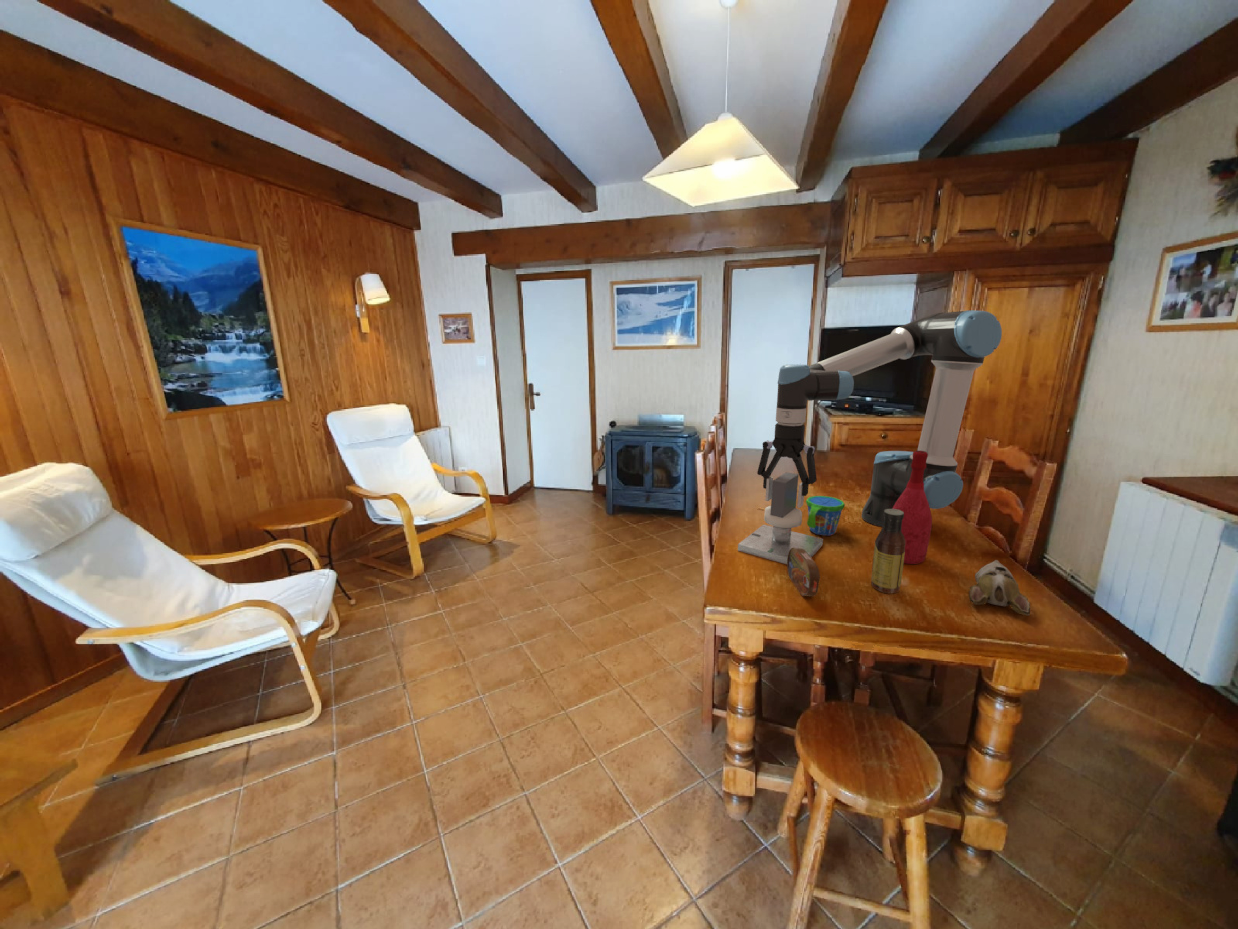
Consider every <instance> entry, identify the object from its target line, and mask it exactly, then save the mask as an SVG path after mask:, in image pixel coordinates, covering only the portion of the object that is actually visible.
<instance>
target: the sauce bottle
mask: <svg viewBox="0 0 1238 929" xmlns="http://www.w3.org/2000/svg"><path fill="white" fill-rule="evenodd" d="M883 516H884V522H883V527H881V530H880V531H879V533H878V534H877V537H876V538H875V539H874V549H873V558H872V567H871V577H870V580H871V582H870V583H871V586H872V587H873V588H874V590H877V591H879V592H880V593H885V594H896V593H898V592H899V591H900V586H901V585H902V577H903V572H904V571H903V570H904V564H905V563H904V555H905V543H906V542H905V538H904V535H903V534H902V532H901V530H902V520H903V518H904V512H903V511H901V510H897V509H885V510H884V514H883Z"/></svg>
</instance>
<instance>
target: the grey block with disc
mask: <svg viewBox="0 0 1238 929" xmlns="http://www.w3.org/2000/svg"><path fill="white" fill-rule="evenodd" d="M798 483H799V473H793V472H787V471H786V472H784V473H783V474H781V475H780V476H778V477H777V478H775V479H773V485H772V499H770V500H771V503H770V505H768V506H766V507H765V508H764V507H760V506H758V507H757V508H756V509H757V510H758V511H761V512H764V516H763V520H764V522H765V523H766V524H767V525H769V526H772V527H773V526H776V527H781V528H791V529H793V528H798V527H800V526H801V525H802V520H803V511H802V510H801V509H800V508H798V507H797V500H798V488H799V485H798Z"/></svg>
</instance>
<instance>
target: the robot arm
mask: <svg viewBox="0 0 1238 929" xmlns="http://www.w3.org/2000/svg"><path fill="white" fill-rule="evenodd" d="M997 318H998V317H997V316H995V315H994V314H993V313H991V312H989V311H986V310H974V309H972V310H961V311H958V310H957V311H949V312H937V313H932V314H929V315H925V316H924V317H920V318H918V319H916V320H914V321H911V322H908V323H906V324H903V325H901V326H899V327H896V328H894V329H892V331H891V333H890V334H887V335H885V336H882V337H879V338H877V339H875V340H872V341H869V342H867V343H864V344H861V345H859V346H857V347H854V348H851V349H849V350H847V351H844V352H841V353H839V354H836V355H833V356H831V357H828V358H826V359H824V360H820V361H819V362H815V363H813V364H811V365H808V364H801V363H800V364H793V363H792V364H783V365H781V367H780V368H779V371H778V372H779V373H778V379H777V395H776V396H777V399H776V408H775V409H776V411H775V412H776V414H775V422H776V423H775V425H774V426H775V427H774V439H773V440H771V441H770V440H765V441H763V442H762V453H761V458H760V460H759V464H758V469H757V472H756V473H757V475H758V476H761V477H762V478H763V485H762V486H763V489H765V501H766V502H769V501H770V500H772V485H773V480H774V477H773V476H772V474H773V472H774V470H775V468H776V467H777V465H778V463H779V461H780V460H781V458H788V459H792V462H794V465H795V468H796V469H797V474H799V475H798V477H799V478H800V481H801V482H800V483H799V485H798V490H797V502H796V508H797V509H800V508H801V507H803V506H804V501H805V497H806V496H807V495H808V494H809V487H810V486H809V485H813V484H815V483H816V482H817V470H816V461H815V453H816V446H814V445H812V446H810V445H807V444H805V440H804V439H805V429H806V426H805V423H806V417H807V416H806V415H807V406H808V402H809V401H837V400H845V399H848V398H849V397H850V396H851V395H852V393H853V391H854V387H855V386H854V384H855V380H854V376H857V375H860V374H862V373H864V372H868V371H870V370H872V369H875V368H878V367H879V366H884V365H885V364H888V363H891V362H893V361H896V360H898V359H900V360H907V359H911V358H913V357H918V356H932V357H931V360H930V362H931V363H932V364H933V366H934V367H935V372H934V375H933V381H932V384H931V389H930V393H929V394H930V395H929V398H928V403H927V407H926V412H925V415H924V420H923V424H922V428H921V434H920V438H919V442H918V446H917V450H916V451H925V452H927V454H928V457H927V461H926V469H924V474H923V483H924V492H925V495H926V498H927V501H928V503H929V507H930V509H933V510H939V509H943V508H946V507H948V506H950V504H952V503H955V501H956V500H957V499H958V498H959V497H960V495H961V494H962V491H963V488H964V481H963V479H962V477H961V476H960V475H959V473H957V468H958V462H957V461H956V459H955V458H954V454H955V449H956V446H957V442H958V441H957V440H958V436H959V433H960V432H959V431H960V429H961V424H962V421H963V416H964V413H965V409H966V405H967V400H968V396H969V393H970V390H971V389H970V388H971V384H972V381H973V377H974V372H975V370H977V369H978V368H979V367H981V366H983V364H984V361H985V357H987V356H990V355H991V354H993V353H994V351H995V350H997V348H998V347H999V346H1000V344H1001V340H1002V335H1003V334H1002V332H1003V331H1002V330H1003V329H1002V326H1001V322H1000V321H999V320H997ZM773 447H774V449H775V453H774V455H773V457H772V460H771V461H770V463H769V464H768V460H769V458H770V457H769V456H770V453H771V449H772V448H773ZM803 450H804V453H805V454H806V464H807V466H806V467H807V470H806V468H805V464H804V462H803V458H802V455H801V452H802V451H803ZM913 452H914V451H907V450H906V451H905V450H904V451H903V450H888V451H887V450H886V451H880V452H878V453H877V454H876V455H875V456H874V462H873V470H872V478H871V479H872V480H871V486H870V495H869V497H868V499H867V500H866V502H865V504H864V506H863V508H862V510H861V518H862V519H863V520H864V521H865V522H867V523H868V524H872V525H874V526H876V527H881V528H883V522H884V516H883V514H884V510H885V509H892V508H893V506H894V505H895V503H896V501H897V500H898V498H899V497H900V496H901V494H902V493H903V492H904V490H905V489H906V486H907V484H908V482H909V480H910V476H911V472H912V468H911V464H912V461H913ZM767 464H768V466H767Z"/></svg>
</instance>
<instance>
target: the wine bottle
mask: <svg viewBox="0 0 1238 929" xmlns="http://www.w3.org/2000/svg"><path fill="white" fill-rule="evenodd" d="M912 452H913V461H912V464H911V468H912V472H911V476H910V480H909V482H908V484H907V486H906V489H905V490H904V492H903V493H902V494H901V496H900V497H899V498H898V500H897V501H896V503H895V505H894V506H893V508H892V509H897V510H901V511H903V512H904V518H903V520H902V530H901V532H902V534H903V535H904V538H905V542H906V543H905V555H904V563H903V564H906V565H918V564H922V563H923V562H924V561H925V560H926V557H927V553H928V549H929V545H930V544H929V543H930V539H931V533H932V527H933V526H932V525H933V516H932V511H931V508H930V507H929V503H928V501H927V498H926V495H925V492H924V483H923V474H924V469H926V461H927V457H928V454H927V452H925V451H917V450H914V451H912Z"/></svg>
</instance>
